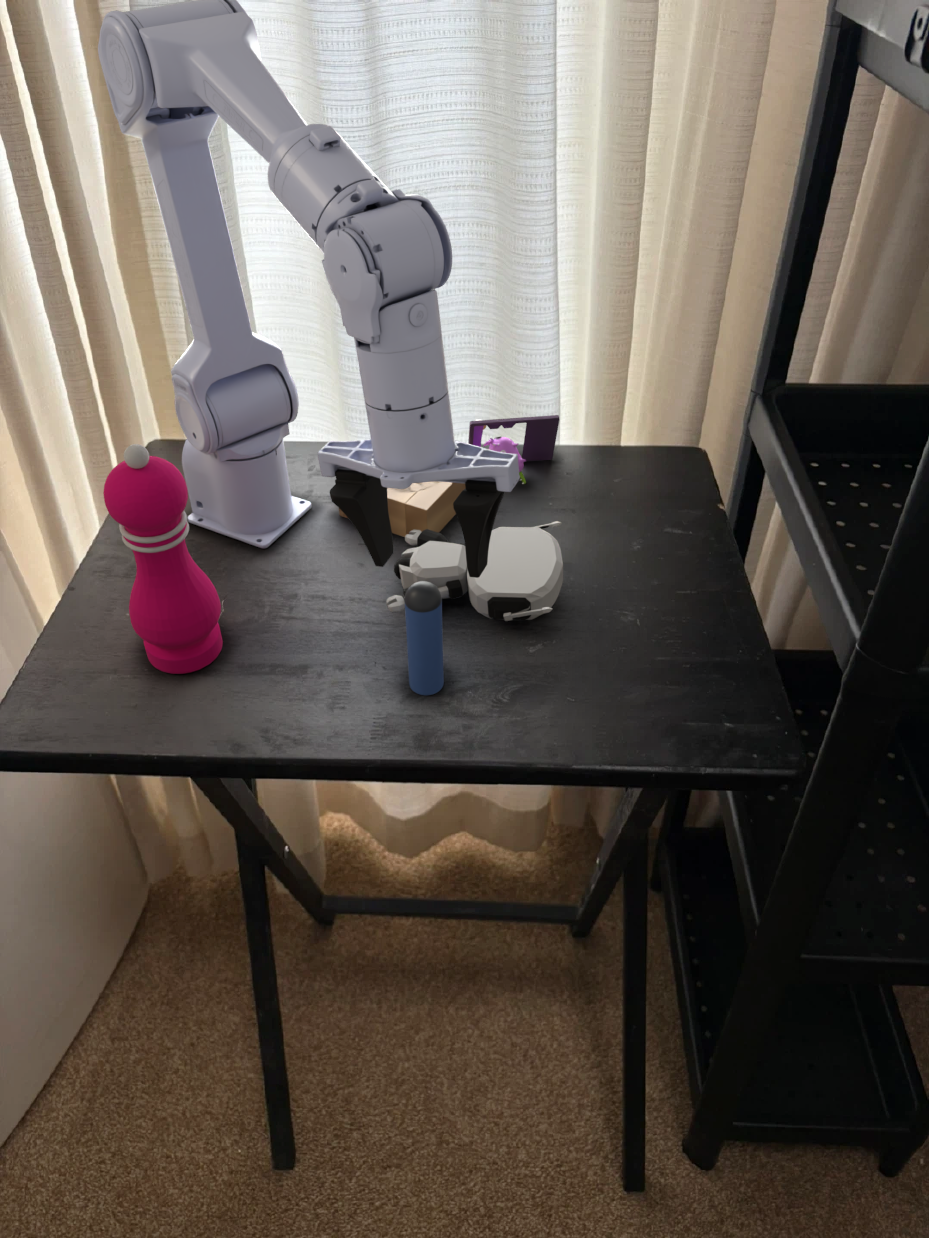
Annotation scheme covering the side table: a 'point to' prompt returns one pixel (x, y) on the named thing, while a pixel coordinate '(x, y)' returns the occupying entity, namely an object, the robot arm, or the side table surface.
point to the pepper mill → (163, 564)
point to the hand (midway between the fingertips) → (430, 565)
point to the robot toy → (488, 571)
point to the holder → (421, 506)
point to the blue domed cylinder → (424, 637)
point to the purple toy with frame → (535, 442)
